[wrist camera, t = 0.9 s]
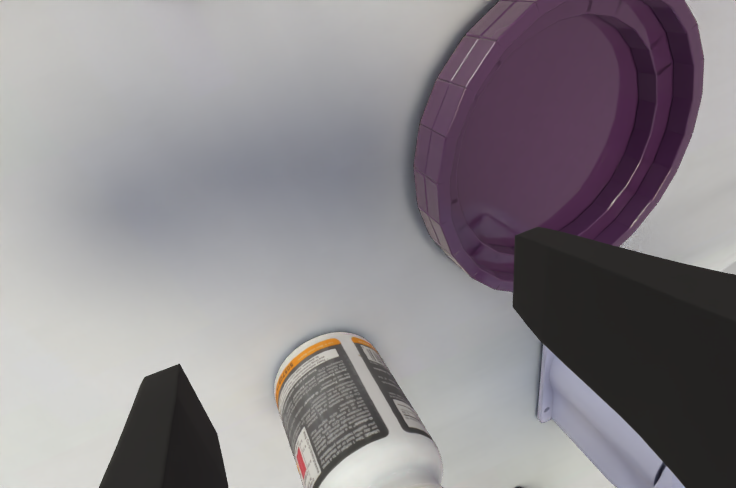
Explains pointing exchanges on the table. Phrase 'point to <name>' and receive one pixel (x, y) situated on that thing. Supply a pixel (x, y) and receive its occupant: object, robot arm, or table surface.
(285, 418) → the pill bottle
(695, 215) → the table surface
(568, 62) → the dish
